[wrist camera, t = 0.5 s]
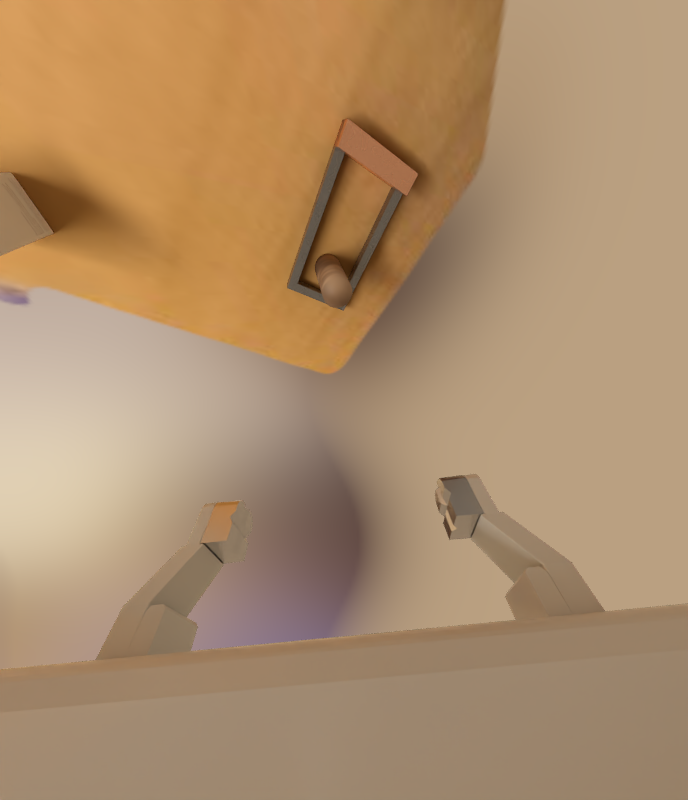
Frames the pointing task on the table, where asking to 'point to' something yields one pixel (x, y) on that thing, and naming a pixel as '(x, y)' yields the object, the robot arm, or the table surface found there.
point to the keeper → (333, 281)
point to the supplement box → (18, 216)
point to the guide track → (358, 149)
